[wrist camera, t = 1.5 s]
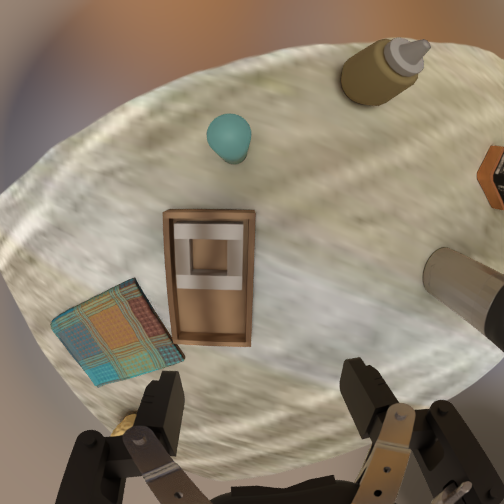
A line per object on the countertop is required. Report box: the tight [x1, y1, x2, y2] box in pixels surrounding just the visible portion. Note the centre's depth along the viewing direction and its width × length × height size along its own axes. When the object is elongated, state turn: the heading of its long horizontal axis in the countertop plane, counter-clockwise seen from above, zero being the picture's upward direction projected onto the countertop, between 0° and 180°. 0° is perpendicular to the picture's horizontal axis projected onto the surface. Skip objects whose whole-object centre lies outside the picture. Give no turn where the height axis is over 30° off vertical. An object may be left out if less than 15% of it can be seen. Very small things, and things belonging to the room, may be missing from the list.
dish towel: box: [50, 278, 185, 388], centre depth 42 cm, size 17×23×2 cm
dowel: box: [207, 114, 251, 164], centre depth 28 cm, size 4×4×16 cm
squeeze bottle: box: [341, 38, 431, 106], centre depth 24 cm, size 8×8×18 cm
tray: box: [163, 209, 256, 347], centre depth 38 cm, size 12×20×3 cm, turn 178°
